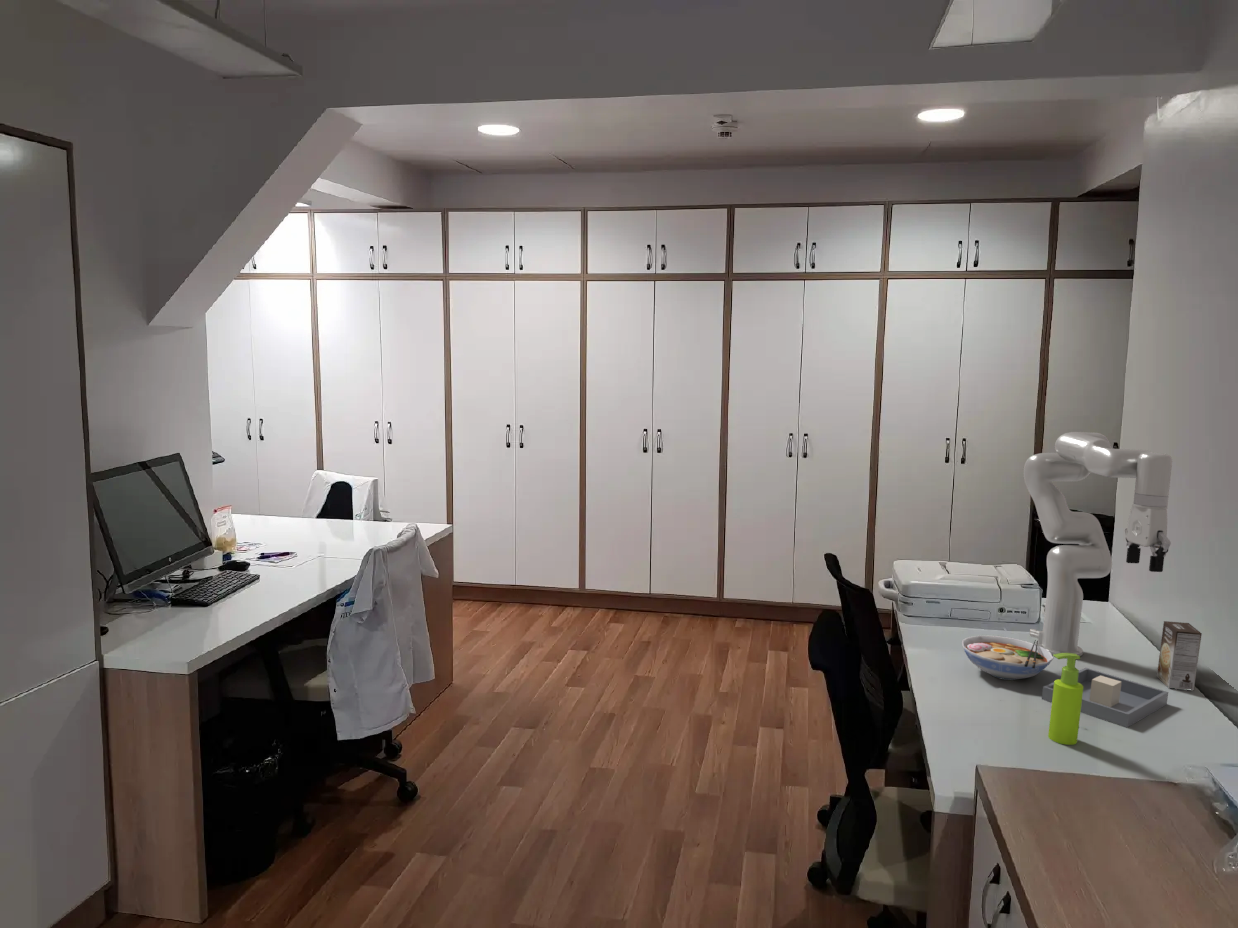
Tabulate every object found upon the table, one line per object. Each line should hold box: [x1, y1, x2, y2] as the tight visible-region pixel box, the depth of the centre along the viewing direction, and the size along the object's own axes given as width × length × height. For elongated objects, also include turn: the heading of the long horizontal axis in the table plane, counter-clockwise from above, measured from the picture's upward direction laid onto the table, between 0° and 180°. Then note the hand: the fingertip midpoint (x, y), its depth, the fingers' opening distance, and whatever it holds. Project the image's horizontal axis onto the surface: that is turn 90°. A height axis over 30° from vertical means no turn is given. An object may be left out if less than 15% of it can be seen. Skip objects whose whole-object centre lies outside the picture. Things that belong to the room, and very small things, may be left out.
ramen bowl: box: [961, 634, 1054, 681], centre depth 241 cm, size 25×23×8 cm
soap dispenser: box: [1047, 653, 1083, 746], centre depth 201 cm, size 6×7×20 cm
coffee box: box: [1156, 620, 1203, 690], centre depth 239 cm, size 9×6×16 cm
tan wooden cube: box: [1089, 675, 1121, 707], centre depth 223 cm, size 5×5×6 cm
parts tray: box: [1041, 667, 1169, 729], centre depth 224 cm, size 20×24×4 cm
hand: (1143, 567), depth 230 cm, fingers open, 9 cm apart
